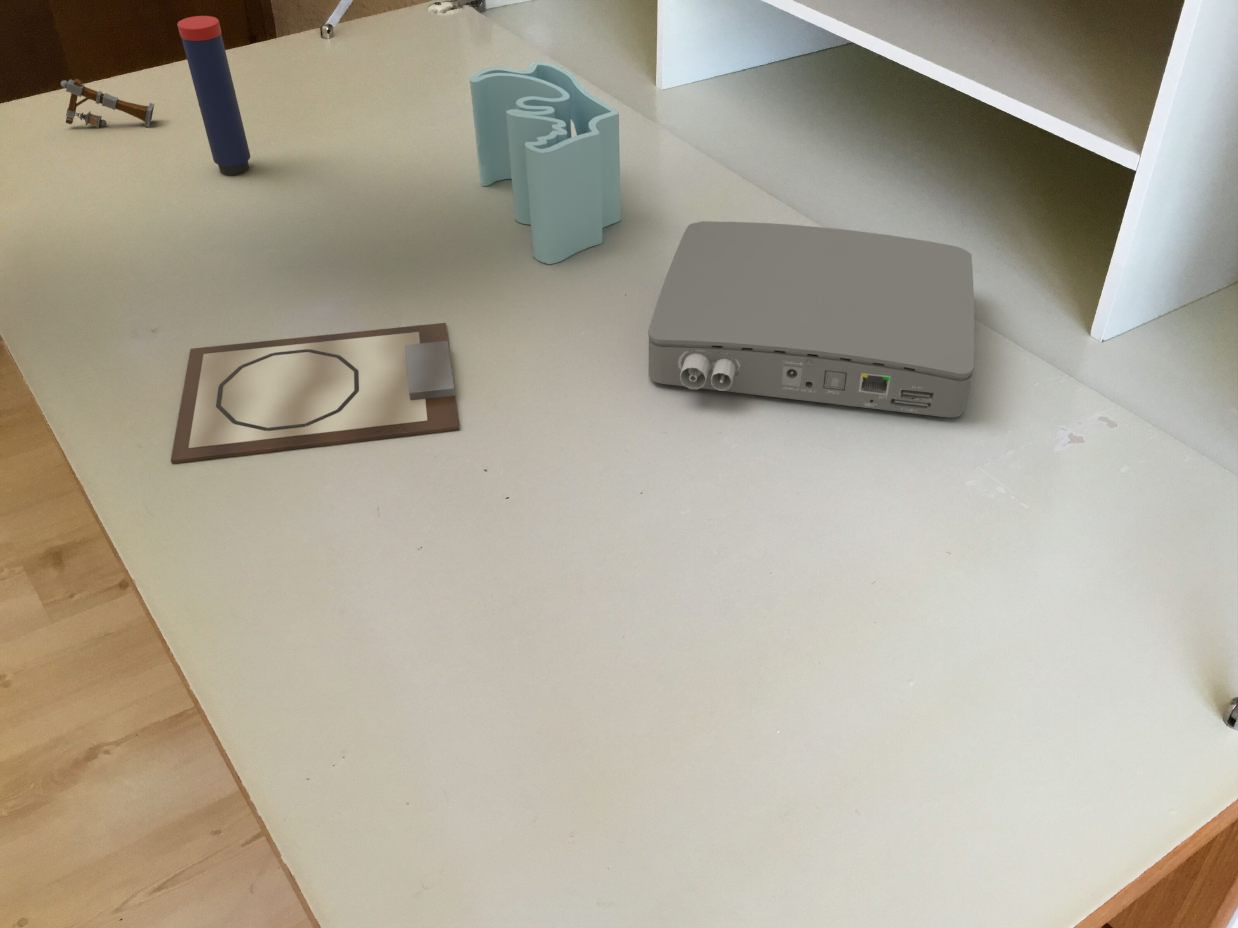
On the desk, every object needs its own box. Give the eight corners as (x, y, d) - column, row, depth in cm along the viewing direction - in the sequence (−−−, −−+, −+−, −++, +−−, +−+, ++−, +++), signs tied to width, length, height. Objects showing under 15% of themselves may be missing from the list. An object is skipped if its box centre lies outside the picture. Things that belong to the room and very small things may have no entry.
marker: (214, 178, 103) (175, 29, 94) (217, 163, 105) (179, 16, 97) (252, 175, 103) (217, 27, 95) (254, 160, 106) (220, 14, 97)
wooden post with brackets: (58, 114, 111) (64, 71, 108) (147, 143, 114) (154, 101, 111) (53, 122, 109) (59, 78, 107) (143, 150, 112) (151, 108, 110)
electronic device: (963, 439, 75) (977, 376, 72) (640, 400, 78) (640, 338, 75) (961, 292, 89) (973, 234, 86) (688, 264, 92) (690, 206, 89)
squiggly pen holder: (649, 237, 96) (649, 128, 89) (543, 266, 92) (535, 154, 86) (553, 157, 107) (547, 56, 101) (455, 180, 103) (442, 76, 97)
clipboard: (171, 463, 72) (167, 452, 72) (191, 352, 82) (187, 340, 81) (459, 429, 75) (458, 418, 75) (446, 325, 85) (444, 314, 84)
